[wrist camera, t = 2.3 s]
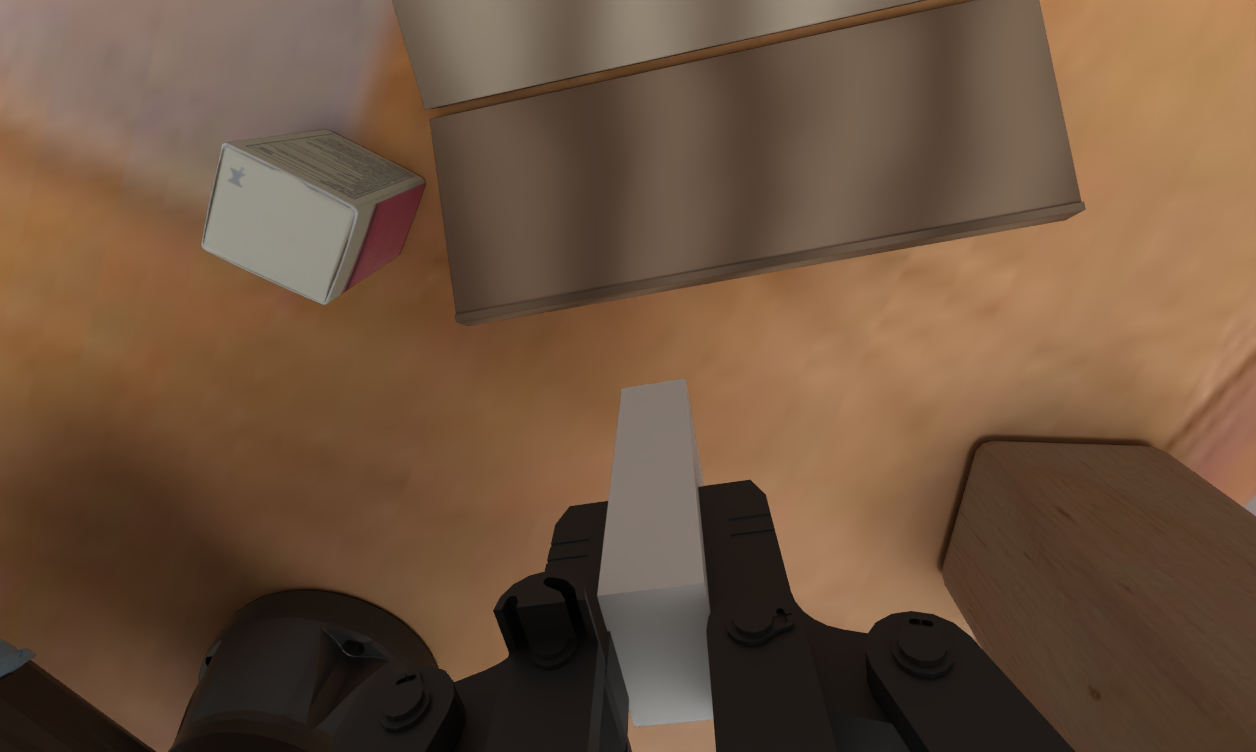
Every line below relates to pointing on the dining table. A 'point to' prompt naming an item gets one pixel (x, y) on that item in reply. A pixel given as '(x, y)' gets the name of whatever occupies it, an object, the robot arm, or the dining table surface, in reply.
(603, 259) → the plank
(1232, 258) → the dining table surface
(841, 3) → the laid board
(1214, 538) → the wooden block
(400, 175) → the small box
